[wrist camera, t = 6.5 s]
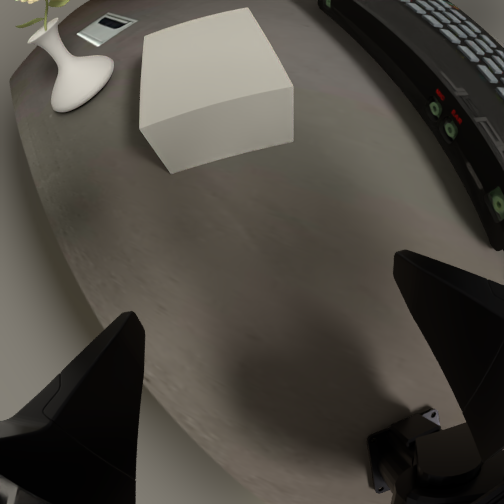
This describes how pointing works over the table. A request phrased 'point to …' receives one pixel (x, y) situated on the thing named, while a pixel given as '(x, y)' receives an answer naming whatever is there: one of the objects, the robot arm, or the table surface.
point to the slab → (213, 91)
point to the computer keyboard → (442, 85)
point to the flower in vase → (70, 65)
